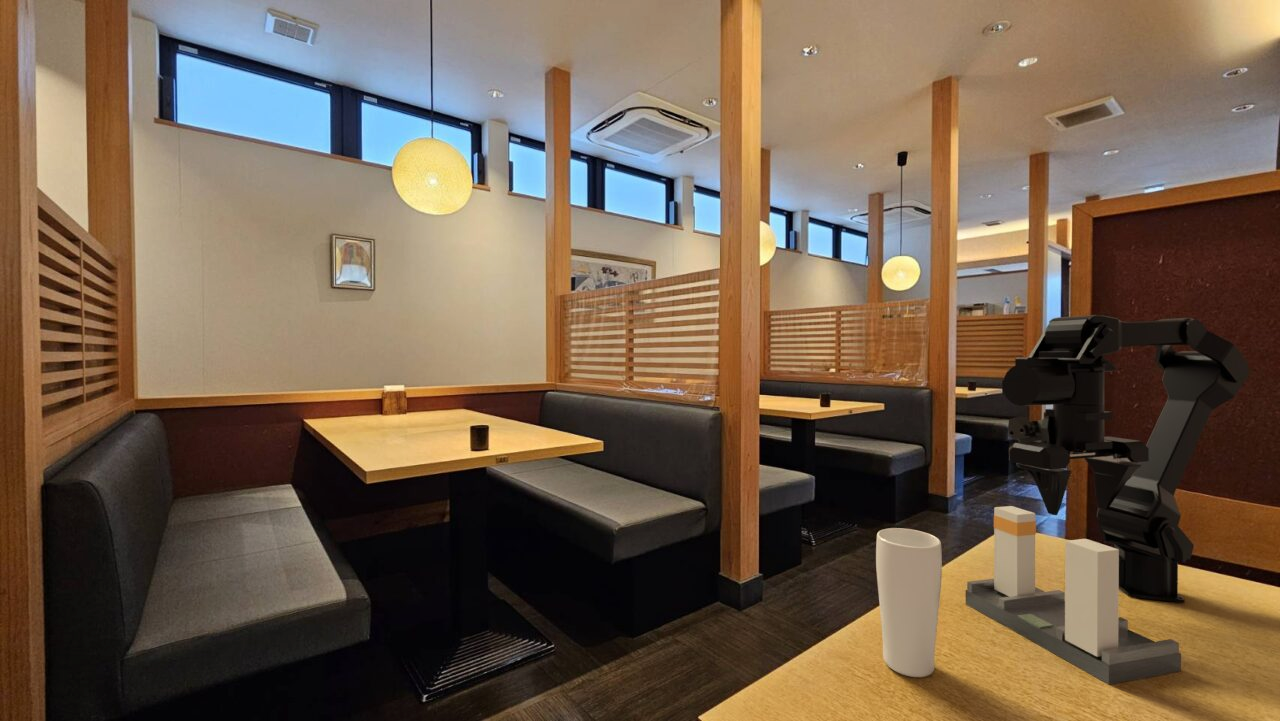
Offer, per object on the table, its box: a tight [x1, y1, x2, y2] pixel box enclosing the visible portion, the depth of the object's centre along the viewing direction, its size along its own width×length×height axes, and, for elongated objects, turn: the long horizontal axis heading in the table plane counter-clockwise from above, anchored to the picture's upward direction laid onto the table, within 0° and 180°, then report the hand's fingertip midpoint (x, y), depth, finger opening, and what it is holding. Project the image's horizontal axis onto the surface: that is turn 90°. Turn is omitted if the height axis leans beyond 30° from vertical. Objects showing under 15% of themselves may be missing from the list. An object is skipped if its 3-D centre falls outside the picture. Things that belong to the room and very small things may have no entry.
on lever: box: [1064, 538, 1120, 657], centre depth 62 cm, size 3×4×12 cm
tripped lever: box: [993, 505, 1037, 597], centre depth 75 cm, size 3×4×12 cm
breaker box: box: [965, 578, 1182, 685], centre depth 69 cm, size 10×19×3 cm, turn 13°
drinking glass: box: [875, 527, 943, 678], centre depth 62 cm, size 7×7×15 cm
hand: (1077, 511), depth 77 cm, fingers open, 9 cm apart
